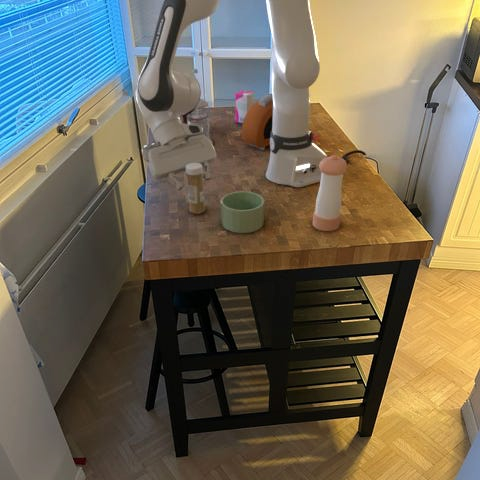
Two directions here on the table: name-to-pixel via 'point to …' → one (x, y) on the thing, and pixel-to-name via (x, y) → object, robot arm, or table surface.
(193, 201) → the sprinkles bottle
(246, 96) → the supplement box
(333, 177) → the salt shaker
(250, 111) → the alarm clock
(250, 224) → the cup
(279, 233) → the table surface
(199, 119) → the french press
